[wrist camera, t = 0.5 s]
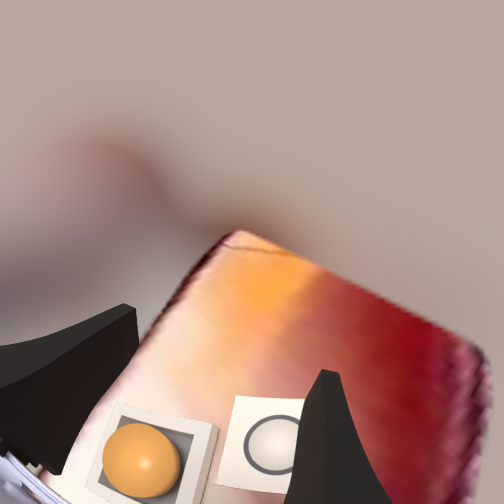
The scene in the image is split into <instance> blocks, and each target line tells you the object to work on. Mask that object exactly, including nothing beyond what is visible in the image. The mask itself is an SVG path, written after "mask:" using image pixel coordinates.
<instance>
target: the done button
mask: <svg viewBox="0 0 504 504" xmlns="http://www.w3.org/2000/svg"><path fill="white" fill-rule="evenodd" d="M102 463H103V469H104V472H105V474H106V476H107V478H108V480H109V481H110V483H111V484H112V485H113V486H114V487H115V488H116V489H118V490H119V491H121V492H123V493H124V494H127V495H130V496H135V497H139V498H155V497H159V496H161V495H163V494H165V493H166V492H168V491H169V490H170V489H171V488H172V487H173V486H174V484H175V483H176V481H177V479H178V476H179V472H180V458H179V454H178V451H177V449H176V447H175V445H174V444H173V442H172V441H171V440H170V439H169V438H168V437H167V436H166V435H164V434H163V433H161V432H160V431H158V430H156V429H155V428H153V427H151V426H148V425H145V424H139V423H133V424H128V425H125V426H123V427H121V428H119V429H117V430H116V431H115V432H114V433H113V434H112V435H111V436H110V437H109V438H108V440H107V442H106V444H105V446H104V450H103V455H102Z"/></svg>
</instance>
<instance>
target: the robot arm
mask: <svg viewBox="0 0 504 504" xmlns="http://www.w3.org/2000/svg"><path fill="white" fill-rule="evenodd" d="M138 347H139V336H138V326H137V316H136V308H134V307H131V306H129V305H127V304H124V303H123V304H121V305H118V306H116V307H114V308H111V309H109V310H107V311H105V312H103V313H100V314H98V315H96V316H94V317H91V318H89V319H87V320H85V321H83V322H80V323H78V324H76V325H73V326H71V327H68V328H66V329H63V330H61V331H58V332H56V333H53V334H50V335H47V336H44V337H41V338H37V339H33V340H30V341H25V342H21V343H15V344H10V345H3V346H0V504H46V503H47V504H71V503H70V502H68V501H67V500H65V499H64V498H63V497H61V496H60V495H59V494H57V493H56V492H55V491H54V490H52V489H51V488H50V487H49V486H47V485H46V484H45V483H44V482H43V481H41V480H40V479H39V478H38V477H37V476H36V475H35V474H33V473H32V472H31V471H30V470H29V469H28V468H27V467H26V466H27V465H28V463H29V462H30V463H31V464H32V465H33V466H34V467H35V468H37V467H38V465H39V464H41V465H42V466H43V467H44V468H45V469H47V470H48V471H49V472H50V473H51V474H53V475H61V474H62V471H63V468H64V465H65V463H66V460H67V458H68V455H69V453H70V451H71V448H72V446H73V444H74V442H75V440H76V438H77V436H78V434H79V432H80V430H81V428H82V427H83V425H84V423H85V421H86V420H87V418H88V416H89V415H90V413H91V411H92V410H93V408H94V407H95V405H96V404H97V402H98V401H99V400H100V398H101V397H102V396H103V395H104V393H105V392H106V391H107V390H108V389H109V387H110V386H111V385H112V384H113V382H114V381H115V380H116V379H117V377H118V376H119V375H120V374H121V372H122V371H123V370H124V369H125V367H126V366H127V365H128V363H129V362H130V360H131V359H132V357H133V355H134V354H135V352H136V350H137V349H138ZM30 490H31V491H32V492H34V493H35V494H36V495H37V496H38V497H39V498H41V499H42V500H43V501H44V502H43V501H42V500H40V499H39V498H37V497H36V496H34V495H33V494H31V493H30ZM284 504H393V503H392V501H391V500H390V498H389V497H388V495H387V494H386V492H385V490H384V489H383V487H382V486H381V484H380V482H379V480H378V478H377V477H376V475H375V473H374V471H373V469H372V467H371V465H370V463H369V461H368V458H367V456H366V454H365V452H364V449H363V447H362V444H361V442H360V439H359V437H358V434H357V431H356V429H355V426H354V423H353V420H352V417H351V414H350V411H349V407H348V404H347V401H346V397H345V394H344V390H343V387H342V383H341V379H340V375H339V373H338V372H333V371H329V370H324V369H322V370H321V372H320V373H319V375H318V377H317V379H316V381H315V383H314V385H313V386H312V388H311V390H310V392H309V394H308V395H307V397H306V399H305V401H304V404H303V409H302V413H301V417H300V421H299V426H298V433H297V440H296V448H295V455H294V462H293V468H292V475H291V479H290V484H289V487H288V491H287V494H286V498H285V501H284Z"/></svg>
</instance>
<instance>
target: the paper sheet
mask: <svg viewBox="0 0 504 504" xmlns="http://www.w3.org/2000/svg"><path fill="white" fill-rule="evenodd" d="M304 401H305V399H278V398H260V397H246V396H236V398H235V403H234V407H233V411H232V416H231V420H230V424H229V429H228V433H227V437H226V442H225V446H224V450H223V454H222V459H221V463H220V467H219V471H218V475H217V479H216V483H215V484H218V485H223V486H228V487H234V488H240V489H246V490H253V491H261V492H270V493H281V494H287V491H288V487H289V484H290V479H291V475H292V468H293V462H294V455H295V448H296V440H297V433H298V426H299V421H300V417H301V413H302V409H303V404H304Z"/></svg>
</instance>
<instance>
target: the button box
mask: <svg viewBox="0 0 504 504" xmlns="http://www.w3.org/2000/svg"><path fill="white" fill-rule="evenodd" d="M133 423H139V424H145V425H148V426H151V427H153V428H155V429H156V430H158V431H160V432H161V433H163V434H164V435H166V436H167V437H168V438H169V439H170V440H171V441H172V442H173V444H174V445H175V447H176V449H177V451H178V454H179V458H180V472H179V476H178V479H177V481H176V483H175V484H174V486H173V487H172V488H171V489H170V490H169V491H168V492H166V493H165V494H163V495H161V496H159V497H155V498H139V497H135V496H130V495H127V494H124V493H123V492H121V491H119V490H118V489H116V488H115V487H114V486H113V485H112V484H111V483H110V481H109V480H108V478H107V476H106V474H105V472H104V469H103V463H102V455H103V450H104V446H105V444H106V442H107V440H108V438H109V437H110V436H111V435H112V434H113V433H114V432H115V431H116V430H117V429H119V428H121V427H123V426H125V425H128V424H133ZM218 432H219V429H218V428H217V427H216V426H215V425H214V424H212V423H206V422H200V421H195V420H190V419H185V418H180V417H175V416H171V415H167V414H162V413H158V412H154V411H151V410H147V409H143V408H140V407H136V406H133V405H129V404H126V403H123V402H120V401H116V403H115V405H114V408H113V410H112V413H111V415H110V418H109V420H108V423H107V425H106V428H105V431H104V433H103V436H102V438H101V441H100V444H99V447H98V449H97V452H96V455H95V458H94V461H93V463H92V466H91V469H90V472H89V475H88V478H87V481H86V484H85V488H86V489H88V490H90V491H91V492H93V493H95V494H96V495H98V496H100V497H102V498H104V499H105V500H107V501H109V502H111V503H113V504H201V500H202V496H203V492H204V488H205V484H206V480H207V476H208V472H209V469H210V465H211V461H212V456H213V452H214V448H215V444H216V440H217V436H218Z"/></svg>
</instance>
